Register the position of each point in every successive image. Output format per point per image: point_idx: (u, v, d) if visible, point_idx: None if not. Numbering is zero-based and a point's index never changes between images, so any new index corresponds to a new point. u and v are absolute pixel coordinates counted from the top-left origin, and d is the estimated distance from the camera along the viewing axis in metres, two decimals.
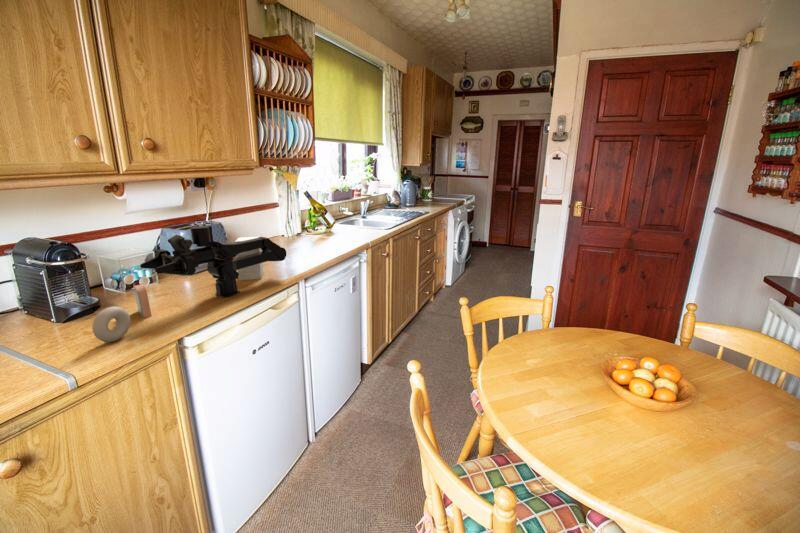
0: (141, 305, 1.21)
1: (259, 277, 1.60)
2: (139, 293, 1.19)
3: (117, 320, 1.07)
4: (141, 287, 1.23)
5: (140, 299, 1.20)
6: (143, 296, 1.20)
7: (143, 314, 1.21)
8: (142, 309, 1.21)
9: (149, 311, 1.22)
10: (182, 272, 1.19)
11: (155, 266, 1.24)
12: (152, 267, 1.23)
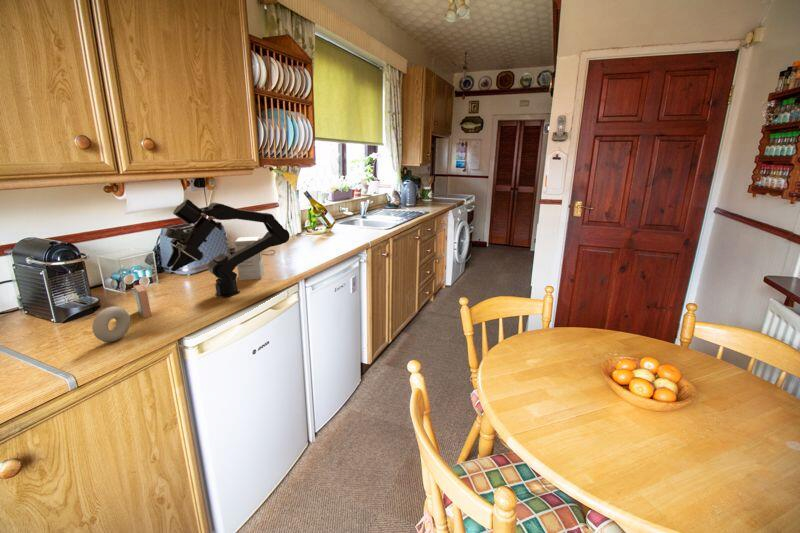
0: (141, 305, 1.21)
1: (259, 277, 1.60)
2: (139, 293, 1.20)
3: (117, 320, 1.07)
4: (141, 287, 1.23)
5: (140, 299, 1.20)
6: (143, 296, 1.20)
7: (143, 314, 1.21)
8: (142, 309, 1.21)
9: (149, 311, 1.22)
10: (192, 259, 1.26)
11: None
12: None
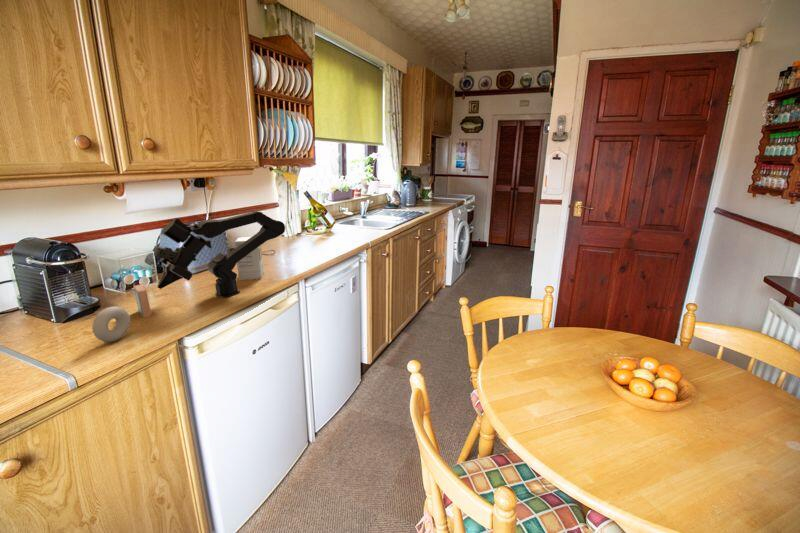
0: (141, 305, 1.21)
1: (259, 277, 1.60)
2: (139, 293, 1.19)
3: (117, 320, 1.07)
4: (141, 287, 1.23)
5: (140, 299, 1.20)
6: (143, 296, 1.20)
7: (143, 314, 1.21)
8: (142, 309, 1.21)
9: (149, 311, 1.22)
10: (179, 277, 1.27)
11: None
12: None
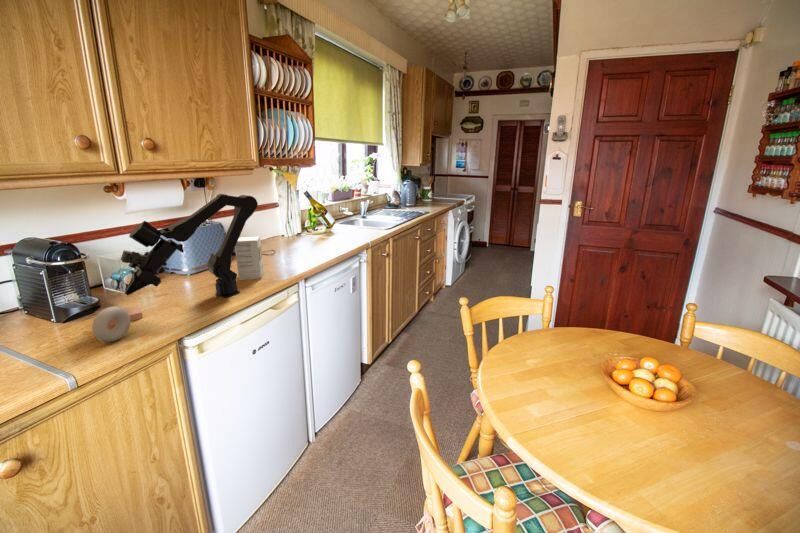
0: None
1: (259, 277, 1.60)
2: (111, 325, 1.16)
3: (117, 320, 1.07)
4: None
5: None
6: (115, 321, 1.17)
7: None
8: (132, 320, 1.20)
9: (135, 314, 1.20)
10: (147, 283, 1.21)
11: None
12: None
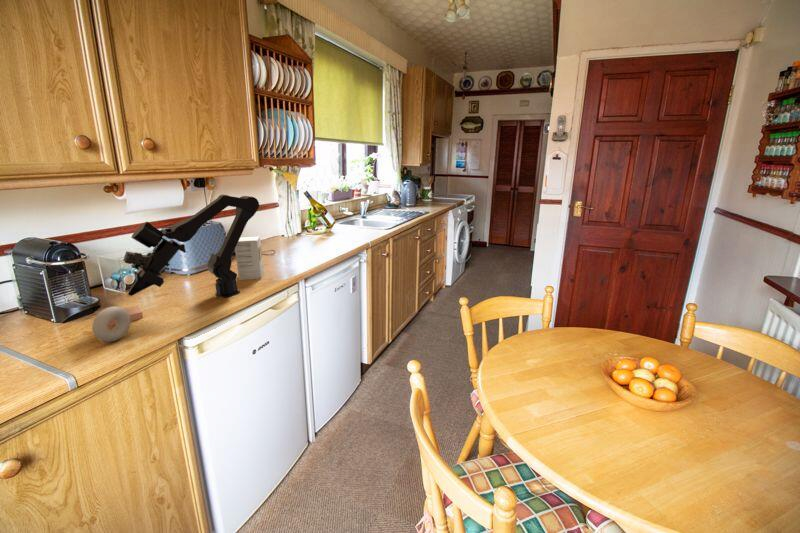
0: None
1: (259, 277, 1.60)
2: (111, 325, 1.16)
3: (117, 320, 1.07)
4: None
5: None
6: (115, 321, 1.17)
7: None
8: (132, 320, 1.20)
9: (135, 314, 1.20)
10: (150, 283, 1.22)
11: None
12: None
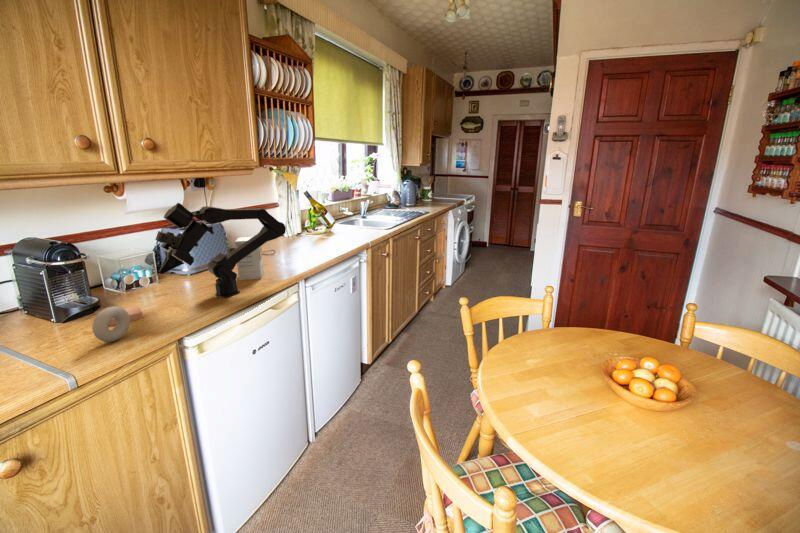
0: None
1: (259, 277, 1.60)
2: (111, 325, 1.16)
3: (117, 320, 1.07)
4: None
5: None
6: (115, 321, 1.17)
7: None
8: (132, 320, 1.20)
9: (136, 314, 1.20)
10: (181, 262, 1.27)
11: None
12: None
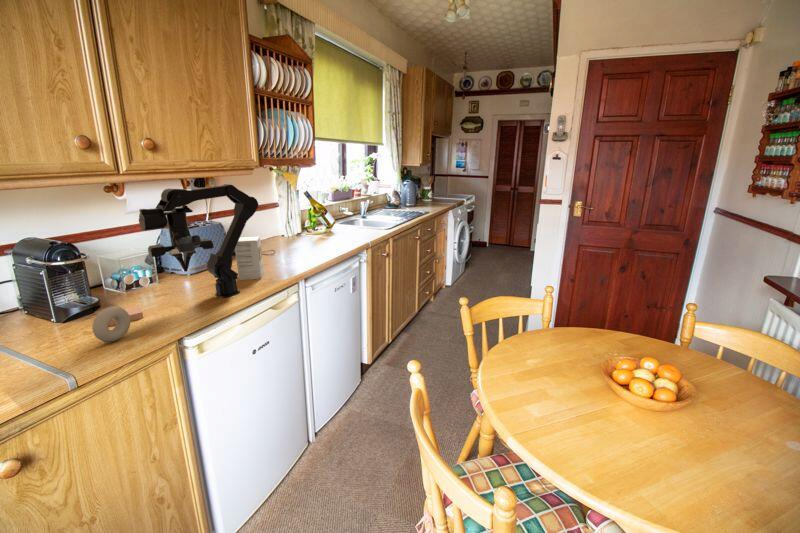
0: None
1: (259, 277, 1.60)
2: (111, 325, 1.16)
3: (117, 320, 1.07)
4: None
5: None
6: (115, 321, 1.17)
7: None
8: (132, 320, 1.20)
9: (136, 314, 1.20)
10: None
11: None
12: None
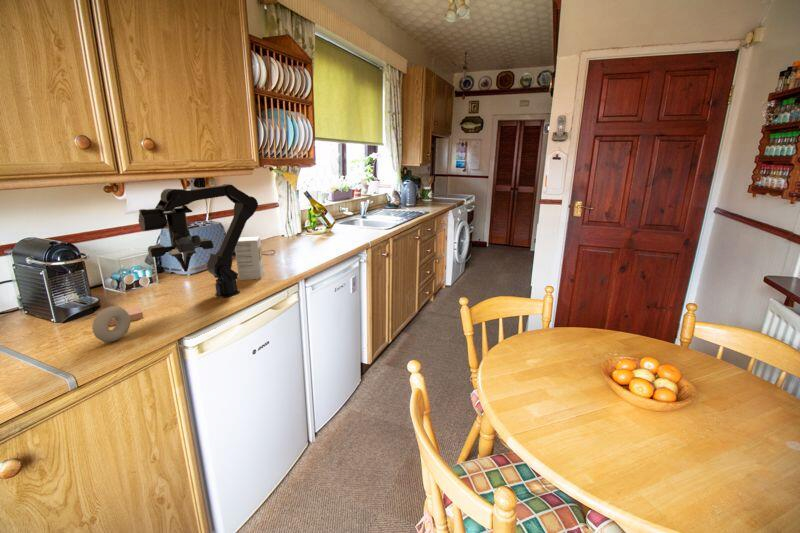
0: None
1: (259, 277, 1.60)
2: (111, 325, 1.16)
3: (117, 320, 1.07)
4: None
5: None
6: (115, 321, 1.17)
7: None
8: (132, 320, 1.20)
9: (136, 314, 1.20)
10: None
11: None
12: None
